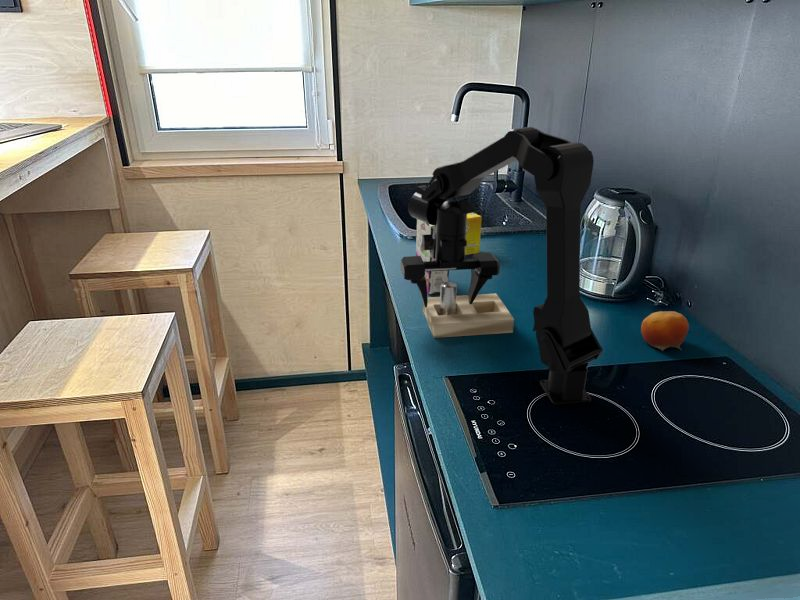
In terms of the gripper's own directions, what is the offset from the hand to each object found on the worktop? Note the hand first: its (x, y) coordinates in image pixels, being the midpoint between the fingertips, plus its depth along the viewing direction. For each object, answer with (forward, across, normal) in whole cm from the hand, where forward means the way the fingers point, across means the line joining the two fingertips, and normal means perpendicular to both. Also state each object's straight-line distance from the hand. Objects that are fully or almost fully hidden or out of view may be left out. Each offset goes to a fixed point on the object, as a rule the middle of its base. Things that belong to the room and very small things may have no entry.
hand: (447, 304), depth 114 cm
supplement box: (+4, -13, -38) cm, 40 cm away
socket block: (+4, -4, 0) cm, 6 cm away
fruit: (+4, -39, +14) cm, 42 cm away
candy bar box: (+4, 0, -19) cm, 20 cm away
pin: (+4, 0, 0) cm, 4 cm away
